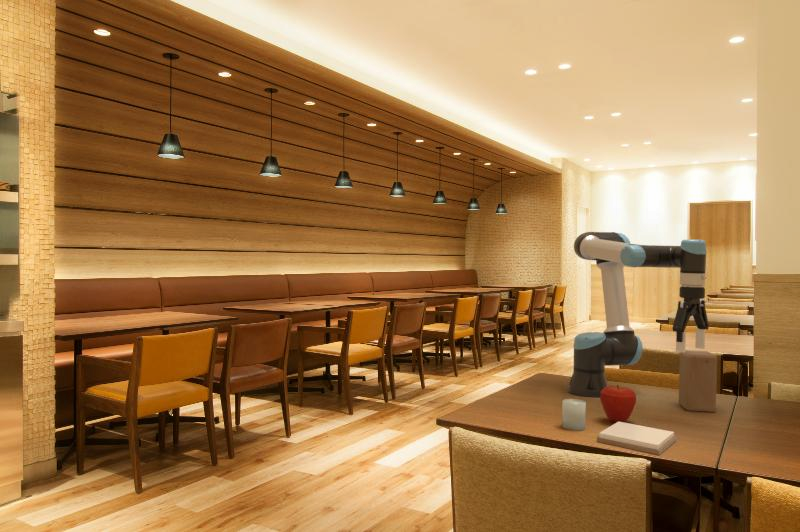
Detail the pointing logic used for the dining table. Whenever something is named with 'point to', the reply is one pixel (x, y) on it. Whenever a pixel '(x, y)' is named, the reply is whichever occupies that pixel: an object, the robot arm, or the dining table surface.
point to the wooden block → (698, 381)
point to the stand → (637, 437)
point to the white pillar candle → (573, 414)
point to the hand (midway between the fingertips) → (690, 350)
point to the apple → (618, 403)
